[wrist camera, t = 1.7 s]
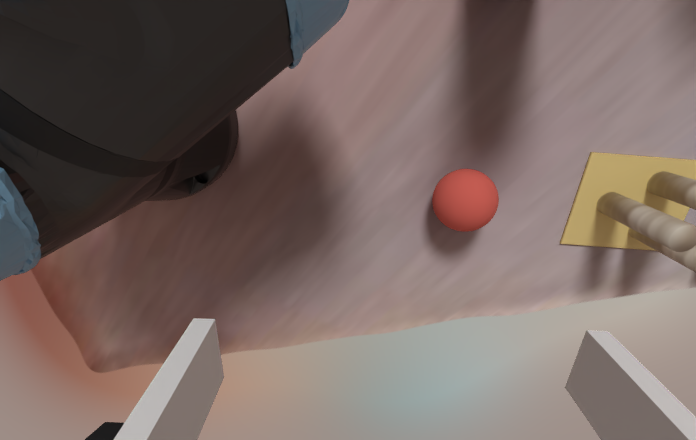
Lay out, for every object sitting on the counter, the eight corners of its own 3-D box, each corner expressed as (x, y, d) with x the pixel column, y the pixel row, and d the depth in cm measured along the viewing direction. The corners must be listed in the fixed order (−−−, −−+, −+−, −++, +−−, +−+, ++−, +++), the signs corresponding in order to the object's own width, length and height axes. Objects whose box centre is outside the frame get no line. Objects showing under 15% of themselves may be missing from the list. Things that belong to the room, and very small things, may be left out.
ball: (422, 215, 36) (435, 239, 31) (431, 160, 34) (446, 175, 29) (478, 219, 37) (500, 244, 31) (490, 164, 34) (517, 180, 29)
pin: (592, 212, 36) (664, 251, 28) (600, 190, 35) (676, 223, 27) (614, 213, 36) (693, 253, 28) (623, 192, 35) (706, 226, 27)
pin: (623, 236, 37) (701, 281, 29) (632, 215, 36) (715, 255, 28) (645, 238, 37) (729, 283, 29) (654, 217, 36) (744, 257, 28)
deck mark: (559, 242, 37) (560, 243, 37) (590, 152, 34) (591, 152, 33) (667, 250, 38) (669, 251, 37) (709, 161, 34) (711, 161, 34)
